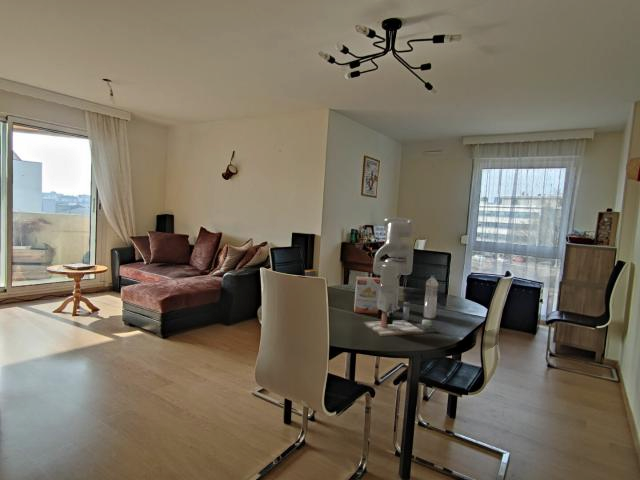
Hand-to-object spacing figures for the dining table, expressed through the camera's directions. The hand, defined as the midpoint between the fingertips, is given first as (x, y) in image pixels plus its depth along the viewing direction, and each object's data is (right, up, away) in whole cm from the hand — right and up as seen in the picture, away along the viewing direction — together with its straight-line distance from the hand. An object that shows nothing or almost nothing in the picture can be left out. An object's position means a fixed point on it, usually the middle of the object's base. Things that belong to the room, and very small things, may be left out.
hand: (384, 321), depth 190 cm
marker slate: (+15, -4, +21) cm, 26 cm away
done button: (+22, -4, +4) cm, 23 cm away
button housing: (+22, -6, +4) cm, 23 cm away
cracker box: (-6, -2, +32) cm, 33 cm away
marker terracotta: (0, -3, 0) cm, 3 cm away
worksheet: (+5, -5, +3) cm, 8 cm away
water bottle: (+31, -4, +29) cm, 43 cm away
